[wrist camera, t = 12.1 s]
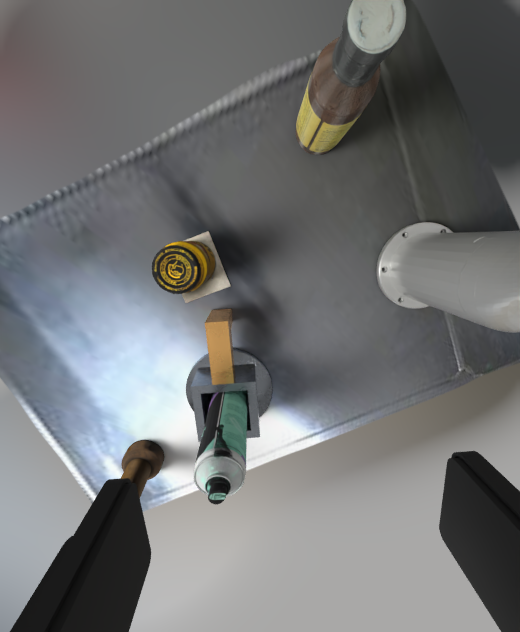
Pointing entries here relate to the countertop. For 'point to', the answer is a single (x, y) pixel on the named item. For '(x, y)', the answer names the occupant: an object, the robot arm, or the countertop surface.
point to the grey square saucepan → (227, 375)
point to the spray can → (223, 447)
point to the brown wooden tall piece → (142, 463)
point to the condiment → (190, 268)
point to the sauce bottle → (348, 73)
